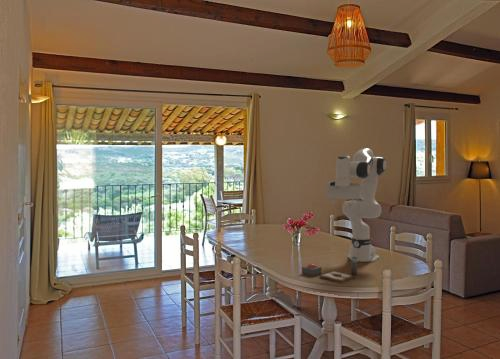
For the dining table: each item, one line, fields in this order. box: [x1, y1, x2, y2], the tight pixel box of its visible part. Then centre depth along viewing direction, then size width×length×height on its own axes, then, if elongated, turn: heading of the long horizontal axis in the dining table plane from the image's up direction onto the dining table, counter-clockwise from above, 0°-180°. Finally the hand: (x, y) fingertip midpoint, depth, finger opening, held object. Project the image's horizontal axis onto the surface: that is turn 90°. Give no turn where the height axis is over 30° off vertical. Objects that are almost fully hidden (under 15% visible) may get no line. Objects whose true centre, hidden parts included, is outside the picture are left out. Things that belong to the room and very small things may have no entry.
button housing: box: [301, 265, 322, 277], centre depth 248 cm, size 8×8×4 cm
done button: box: [308, 263, 316, 268], centre depth 248 cm, size 4×4×3 cm
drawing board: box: [318, 270, 355, 284], centre depth 241 cm, size 14×14×2 cm
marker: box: [350, 257, 358, 277], centre depth 246 cm, size 3×3×10 cm
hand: (342, 206), depth 255 cm, fingers open, 8 cm apart
